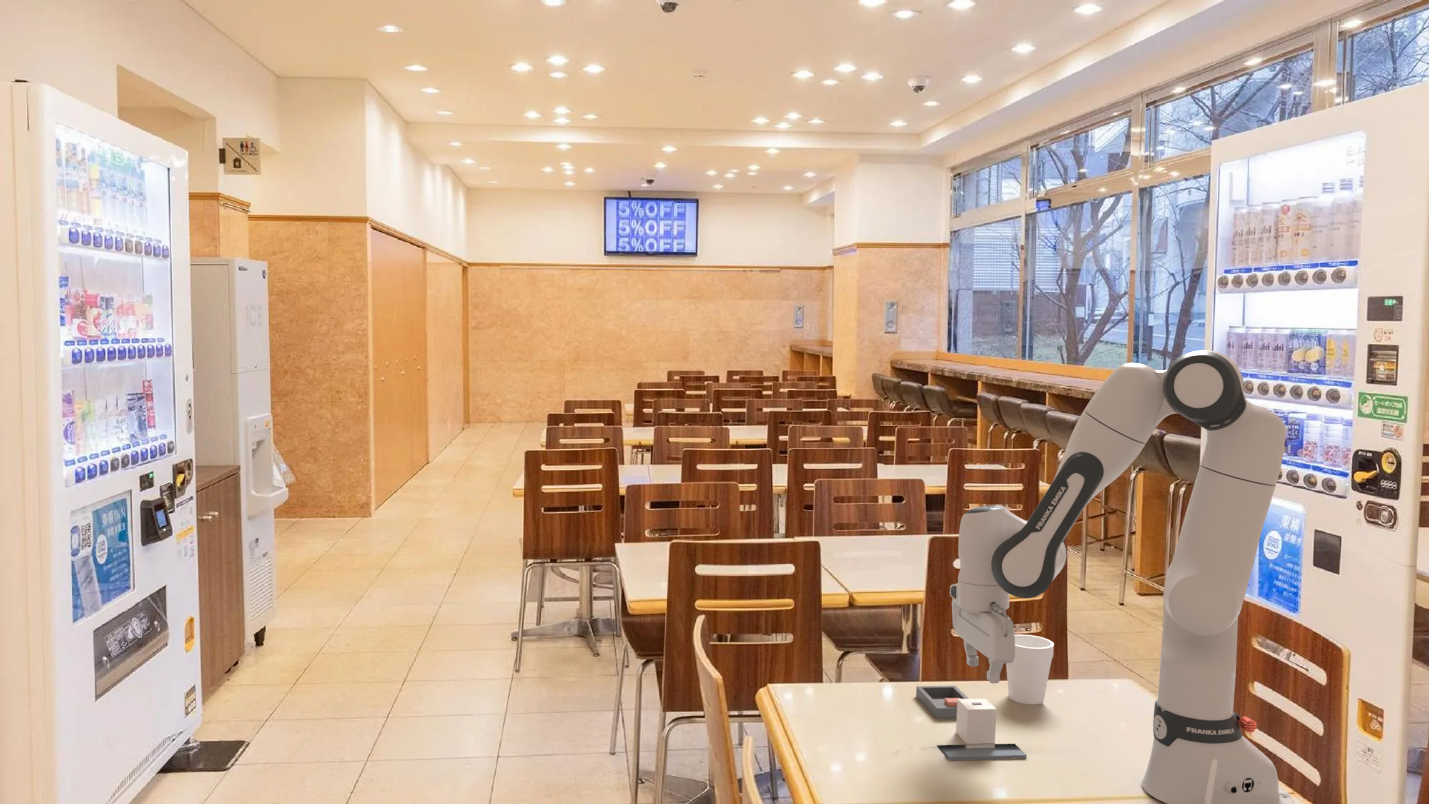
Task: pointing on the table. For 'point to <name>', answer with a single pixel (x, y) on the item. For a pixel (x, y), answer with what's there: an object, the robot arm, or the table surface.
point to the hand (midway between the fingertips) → (982, 673)
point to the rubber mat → (981, 752)
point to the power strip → (940, 700)
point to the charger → (976, 722)
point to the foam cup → (1029, 669)
